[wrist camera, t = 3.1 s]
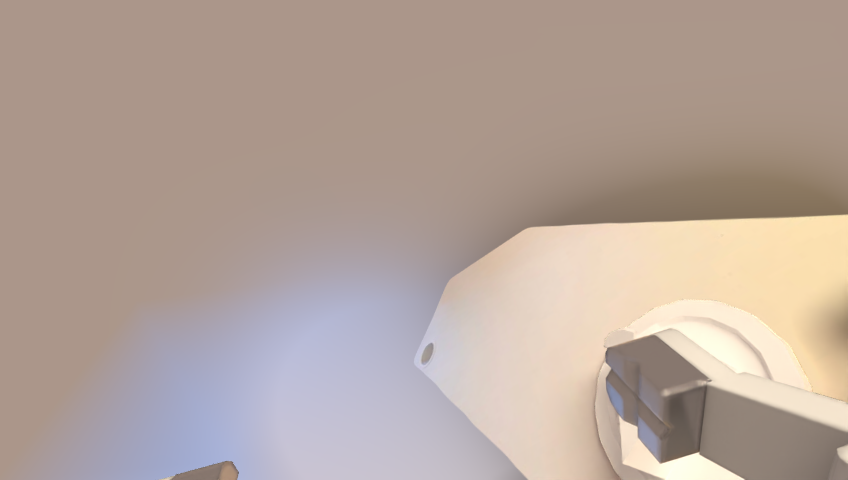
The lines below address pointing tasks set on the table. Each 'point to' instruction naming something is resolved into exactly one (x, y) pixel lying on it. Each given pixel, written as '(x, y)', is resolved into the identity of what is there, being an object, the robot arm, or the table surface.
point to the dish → (725, 340)
